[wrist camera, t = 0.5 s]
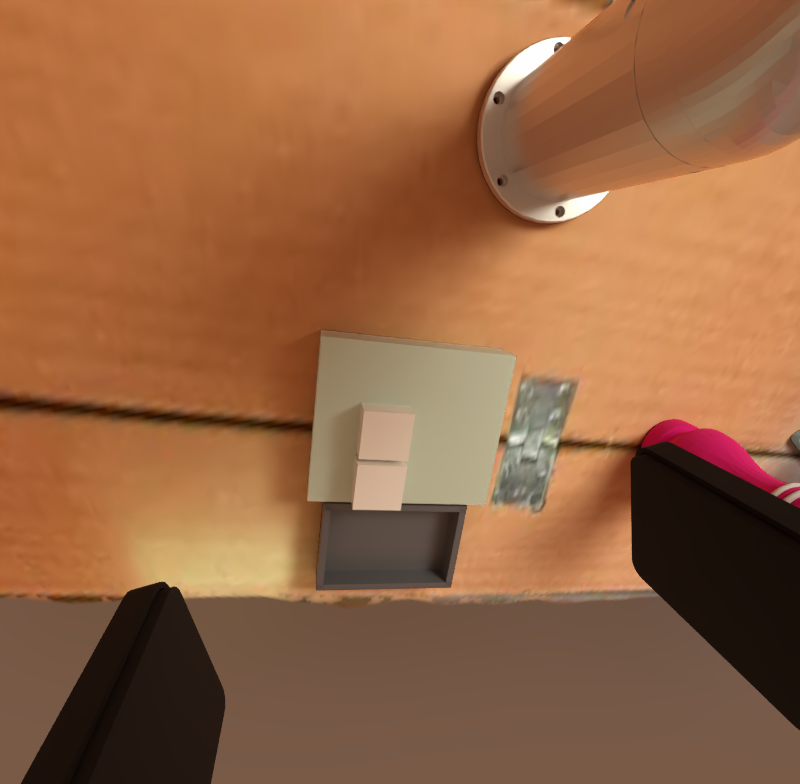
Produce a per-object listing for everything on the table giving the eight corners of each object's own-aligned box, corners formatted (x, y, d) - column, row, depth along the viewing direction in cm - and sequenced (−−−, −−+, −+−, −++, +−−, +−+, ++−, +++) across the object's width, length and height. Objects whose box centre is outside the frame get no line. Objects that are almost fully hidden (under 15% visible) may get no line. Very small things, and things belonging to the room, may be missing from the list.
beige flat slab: (320, 329, 36) (321, 336, 33) (502, 348, 39) (516, 356, 36) (307, 483, 39) (307, 501, 37) (474, 488, 43) (485, 505, 40)
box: (323, 488, 40) (324, 503, 37) (458, 492, 43) (466, 506, 40) (315, 571, 42) (316, 590, 40) (443, 570, 45) (450, 587, 43)
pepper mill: (673, 485, 47) (907, 635, 29) (622, 466, 45) (839, 615, 27) (708, 426, 46) (981, 545, 27) (658, 404, 44) (914, 516, 25)
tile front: (361, 402, 35) (364, 410, 33) (410, 405, 36) (415, 414, 34) (356, 448, 36) (358, 459, 34) (403, 450, 37) (408, 461, 35)
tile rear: (355, 453, 36) (357, 464, 34) (402, 456, 37) (407, 466, 35) (350, 496, 37) (352, 509, 35) (396, 498, 38) (400, 510, 36)
